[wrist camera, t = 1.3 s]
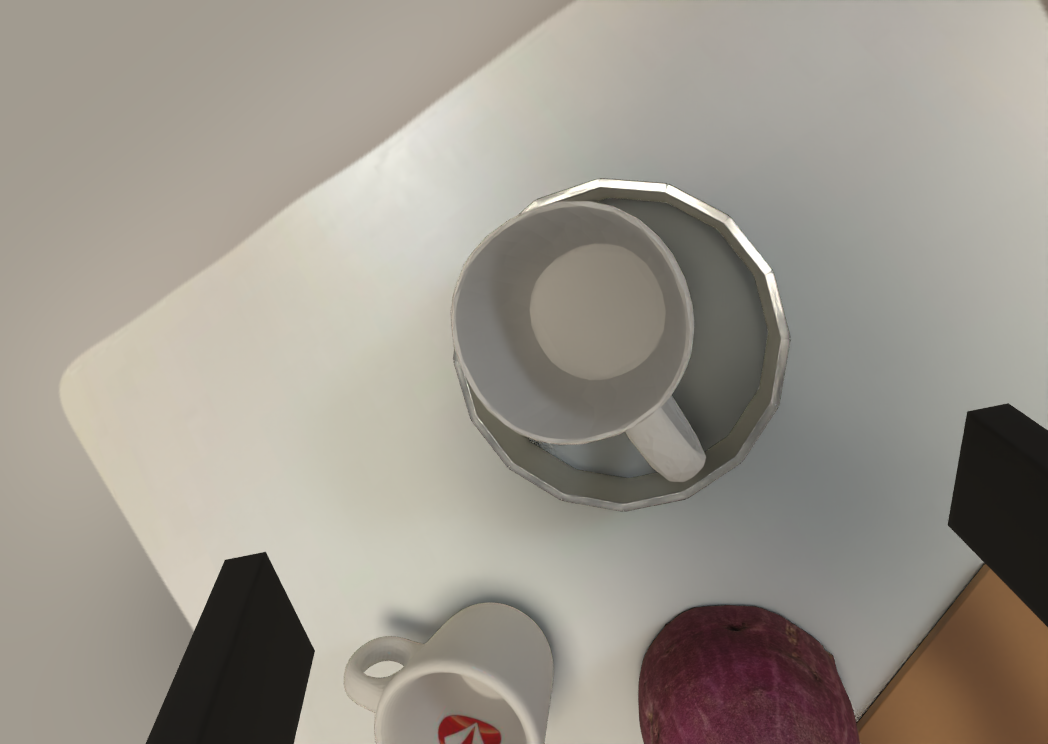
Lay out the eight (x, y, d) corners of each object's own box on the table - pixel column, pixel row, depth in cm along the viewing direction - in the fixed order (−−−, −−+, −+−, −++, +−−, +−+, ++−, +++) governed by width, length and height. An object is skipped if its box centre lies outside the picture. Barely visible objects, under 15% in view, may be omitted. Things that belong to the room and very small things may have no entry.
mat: (985, 561, 31) (991, 566, 30) (1216, 693, 30) (1227, 701, 29) (849, 731, 34) (852, 739, 33) (1056, 859, 32) (1063, 870, 32)
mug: (479, 291, 35) (403, 297, 25) (620, 183, 32) (596, 144, 23) (618, 489, 34) (595, 572, 25) (770, 396, 32) (810, 448, 22)
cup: (380, 676, 39) (308, 774, 32) (398, 554, 38) (326, 625, 30) (555, 731, 37) (524, 850, 30) (581, 604, 36) (554, 694, 28)
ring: (563, 138, 33) (547, 119, 29) (837, 283, 31) (860, 284, 27) (433, 391, 36) (404, 405, 32) (672, 535, 34) (672, 568, 30)
